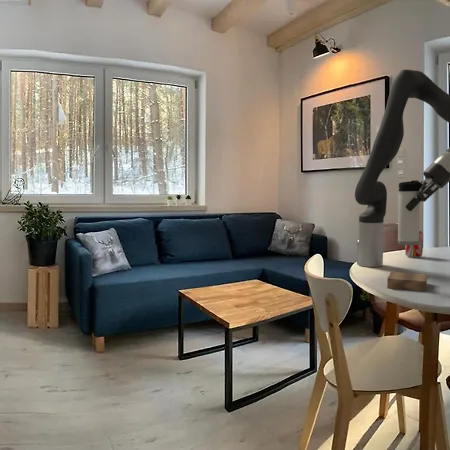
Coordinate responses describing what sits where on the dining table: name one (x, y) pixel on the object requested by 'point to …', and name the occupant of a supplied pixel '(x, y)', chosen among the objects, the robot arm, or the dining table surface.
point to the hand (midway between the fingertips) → (403, 208)
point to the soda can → (415, 248)
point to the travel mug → (408, 214)
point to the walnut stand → (407, 281)
